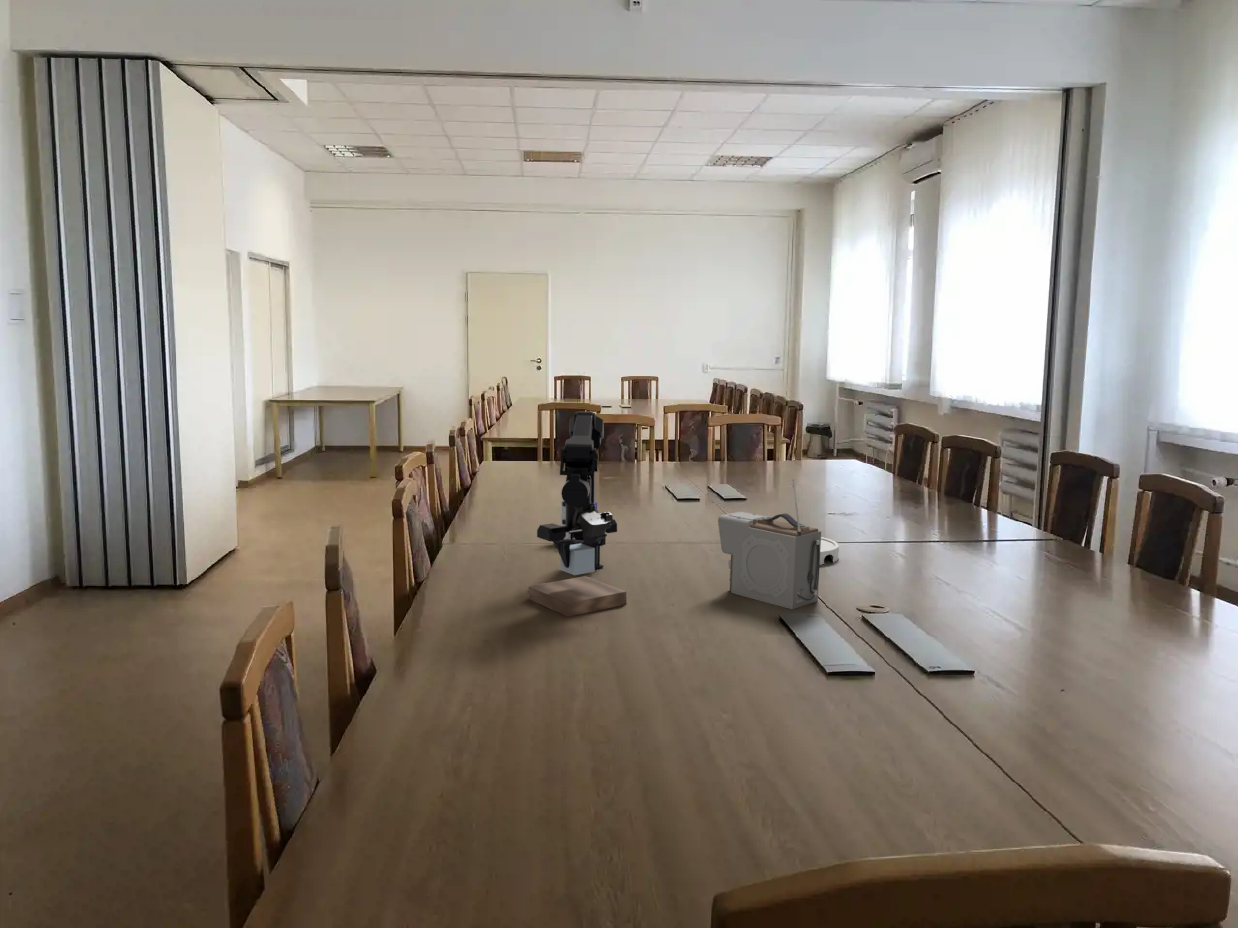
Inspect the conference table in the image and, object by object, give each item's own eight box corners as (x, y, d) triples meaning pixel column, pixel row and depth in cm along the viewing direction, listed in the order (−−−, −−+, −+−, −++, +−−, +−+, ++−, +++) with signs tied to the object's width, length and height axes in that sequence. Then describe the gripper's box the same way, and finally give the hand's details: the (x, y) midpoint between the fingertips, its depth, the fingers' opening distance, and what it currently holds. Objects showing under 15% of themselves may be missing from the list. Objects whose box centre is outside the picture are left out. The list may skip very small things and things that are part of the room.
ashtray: (832, 548, 266) (833, 535, 266) (843, 568, 244) (844, 553, 243) (752, 545, 268) (753, 532, 268) (756, 564, 246) (757, 550, 245)
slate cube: (580, 566, 210) (580, 543, 210) (594, 571, 206) (594, 548, 205) (560, 569, 207) (560, 546, 206) (574, 575, 203) (574, 551, 202)
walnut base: (585, 588, 219) (585, 575, 218) (626, 604, 206) (626, 591, 206) (528, 598, 209) (528, 586, 208) (568, 616, 196) (568, 603, 196)
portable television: (741, 580, 228) (746, 462, 224) (822, 601, 211) (829, 474, 207) (710, 589, 220) (715, 467, 215) (792, 611, 203) (799, 479, 199)
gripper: (564, 508, 192) (563, 579, 194) (633, 499, 204) (631, 567, 206) (535, 500, 201) (535, 568, 203) (603, 492, 212) (602, 557, 215)
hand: (577, 565), depth 206 cm, fingers closed on slate cube, 5 cm apart
